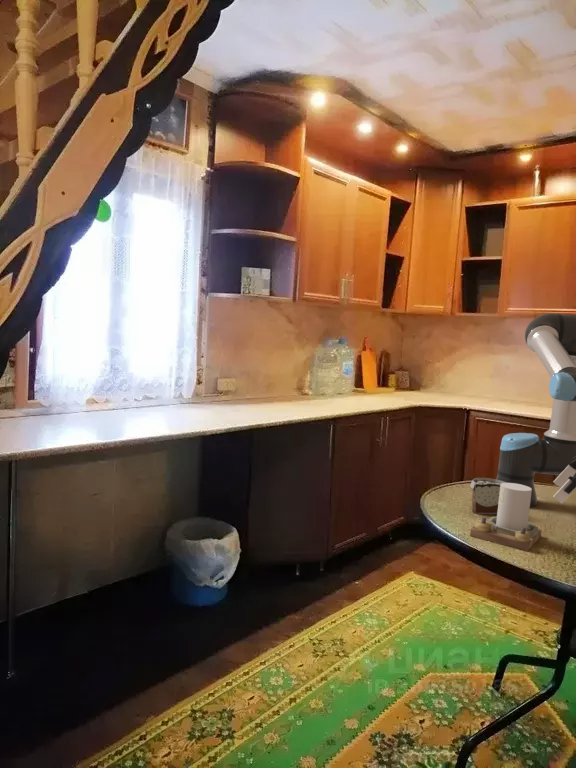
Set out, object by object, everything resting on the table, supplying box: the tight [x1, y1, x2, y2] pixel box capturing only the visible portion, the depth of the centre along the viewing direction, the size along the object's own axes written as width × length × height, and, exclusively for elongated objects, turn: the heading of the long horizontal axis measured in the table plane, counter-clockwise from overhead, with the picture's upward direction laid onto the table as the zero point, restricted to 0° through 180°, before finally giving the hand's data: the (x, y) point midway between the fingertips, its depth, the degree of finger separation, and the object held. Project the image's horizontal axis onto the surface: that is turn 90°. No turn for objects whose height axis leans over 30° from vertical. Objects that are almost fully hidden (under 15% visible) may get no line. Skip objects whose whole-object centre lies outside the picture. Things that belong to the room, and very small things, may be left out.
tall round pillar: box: [496, 483, 532, 531], centre depth 162 cm, size 8×8×12 cm
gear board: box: [469, 516, 542, 552], centre depth 162 cm, size 16×15×5 cm
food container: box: [469, 477, 506, 515], centre depth 185 cm, size 12×6×10 cm, turn 104°
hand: (557, 492), depth 160 cm, fingers open, 13 cm apart
